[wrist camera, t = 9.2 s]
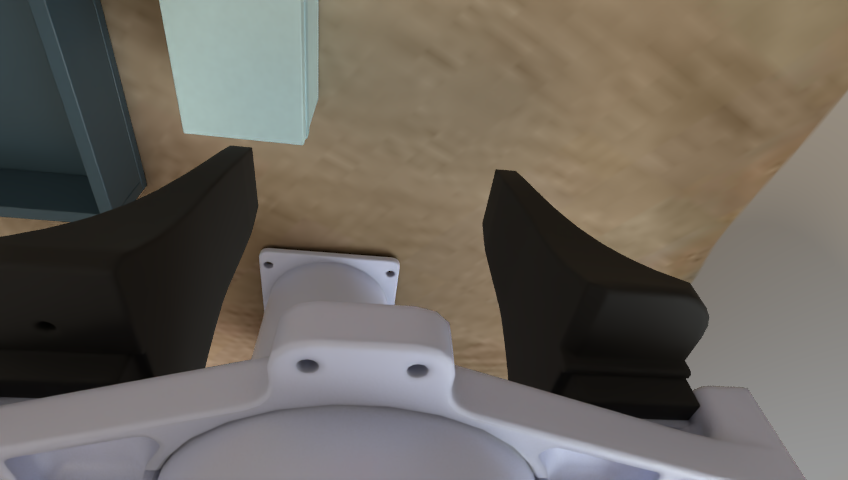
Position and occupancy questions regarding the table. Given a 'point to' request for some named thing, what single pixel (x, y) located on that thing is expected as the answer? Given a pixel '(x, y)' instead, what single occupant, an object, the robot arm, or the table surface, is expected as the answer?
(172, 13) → the case
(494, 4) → the table surface
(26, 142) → the tray
